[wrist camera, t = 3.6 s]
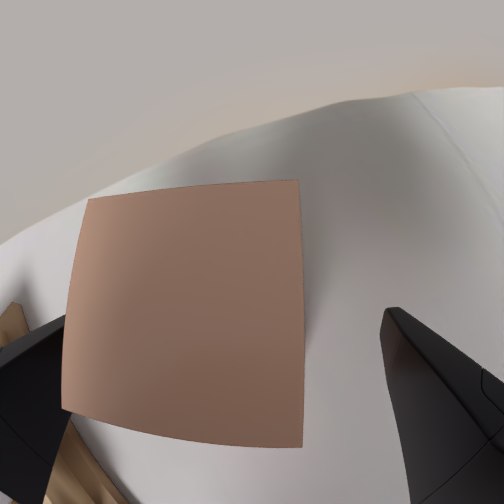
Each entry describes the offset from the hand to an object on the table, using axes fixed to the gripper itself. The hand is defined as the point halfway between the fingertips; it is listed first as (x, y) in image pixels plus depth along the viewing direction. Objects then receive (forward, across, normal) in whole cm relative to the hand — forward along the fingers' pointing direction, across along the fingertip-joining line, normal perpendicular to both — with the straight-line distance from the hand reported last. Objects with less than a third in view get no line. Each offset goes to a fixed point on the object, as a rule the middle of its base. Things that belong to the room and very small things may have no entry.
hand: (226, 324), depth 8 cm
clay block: (+5, 0, +6) cm, 8 cm away
